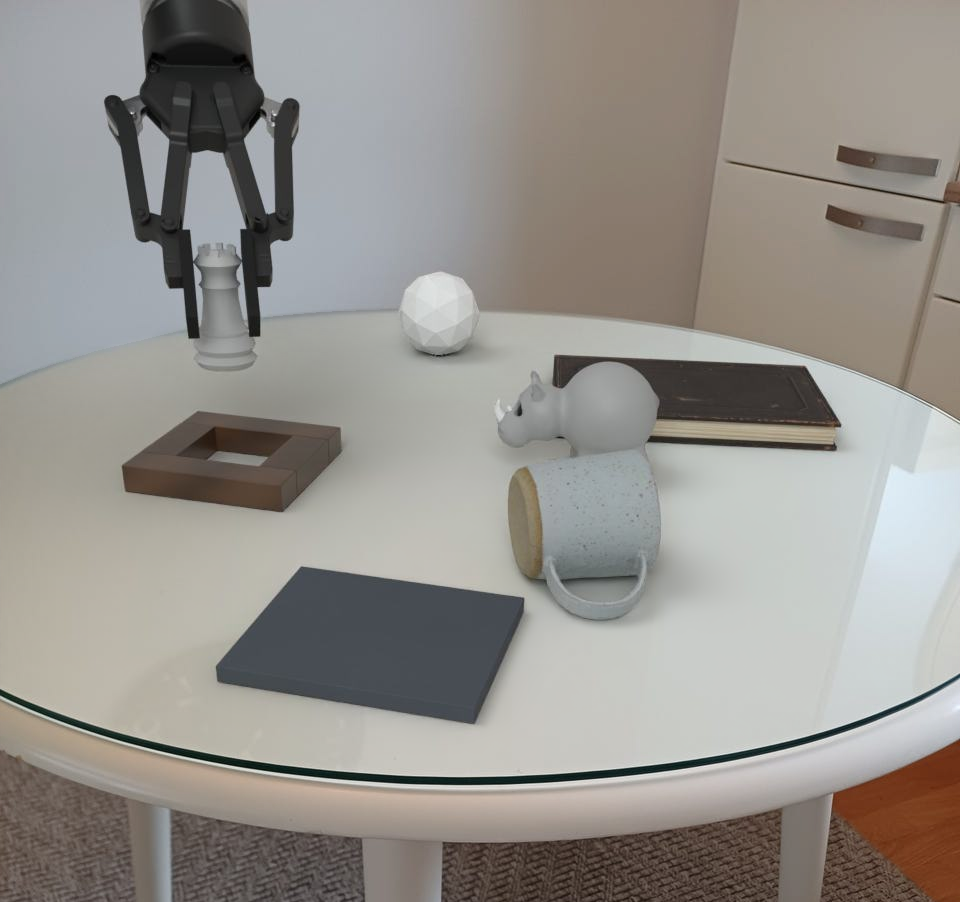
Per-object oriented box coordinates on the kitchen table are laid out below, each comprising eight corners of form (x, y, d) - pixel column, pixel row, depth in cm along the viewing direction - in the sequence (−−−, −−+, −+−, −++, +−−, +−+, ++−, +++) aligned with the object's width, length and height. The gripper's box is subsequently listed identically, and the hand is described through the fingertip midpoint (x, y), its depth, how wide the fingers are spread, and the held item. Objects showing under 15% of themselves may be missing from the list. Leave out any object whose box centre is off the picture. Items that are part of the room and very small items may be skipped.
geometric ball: (447, 385, 111) (443, 334, 104) (386, 343, 113) (378, 290, 106) (495, 335, 113) (495, 282, 106) (435, 295, 115) (430, 240, 108)
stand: (124, 491, 80) (120, 465, 79) (200, 434, 90) (197, 410, 89) (282, 512, 78) (280, 485, 77) (341, 451, 88) (341, 426, 87)
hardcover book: (836, 450, 91) (841, 423, 89) (551, 437, 92) (552, 409, 90) (800, 388, 104) (804, 363, 103) (552, 376, 105) (554, 352, 104)
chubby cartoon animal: (492, 453, 88) (496, 345, 84) (645, 458, 88) (656, 350, 84) (491, 489, 82) (495, 375, 78) (655, 495, 82) (668, 381, 78)
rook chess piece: (206, 352, 82) (196, 238, 78) (266, 356, 81) (258, 242, 77) (184, 370, 78) (172, 251, 74) (246, 375, 78) (237, 255, 74)
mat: (216, 681, 59) (215, 665, 59) (301, 580, 69) (301, 565, 69) (474, 724, 56) (474, 708, 56) (524, 612, 67) (524, 597, 66)
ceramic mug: (500, 548, 74) (505, 438, 69) (619, 540, 75) (630, 431, 71) (541, 632, 65) (550, 511, 61) (675, 620, 66) (692, 501, 62)
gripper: (310, 71, 85) (343, 351, 80) (83, 67, 82) (102, 359, 77) (314, -8, 78) (351, 294, 73) (66, -16, 75) (86, 299, 69)
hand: (224, 326), depth 75 cm, fingers closed on rook chess piece, 3 cm apart
